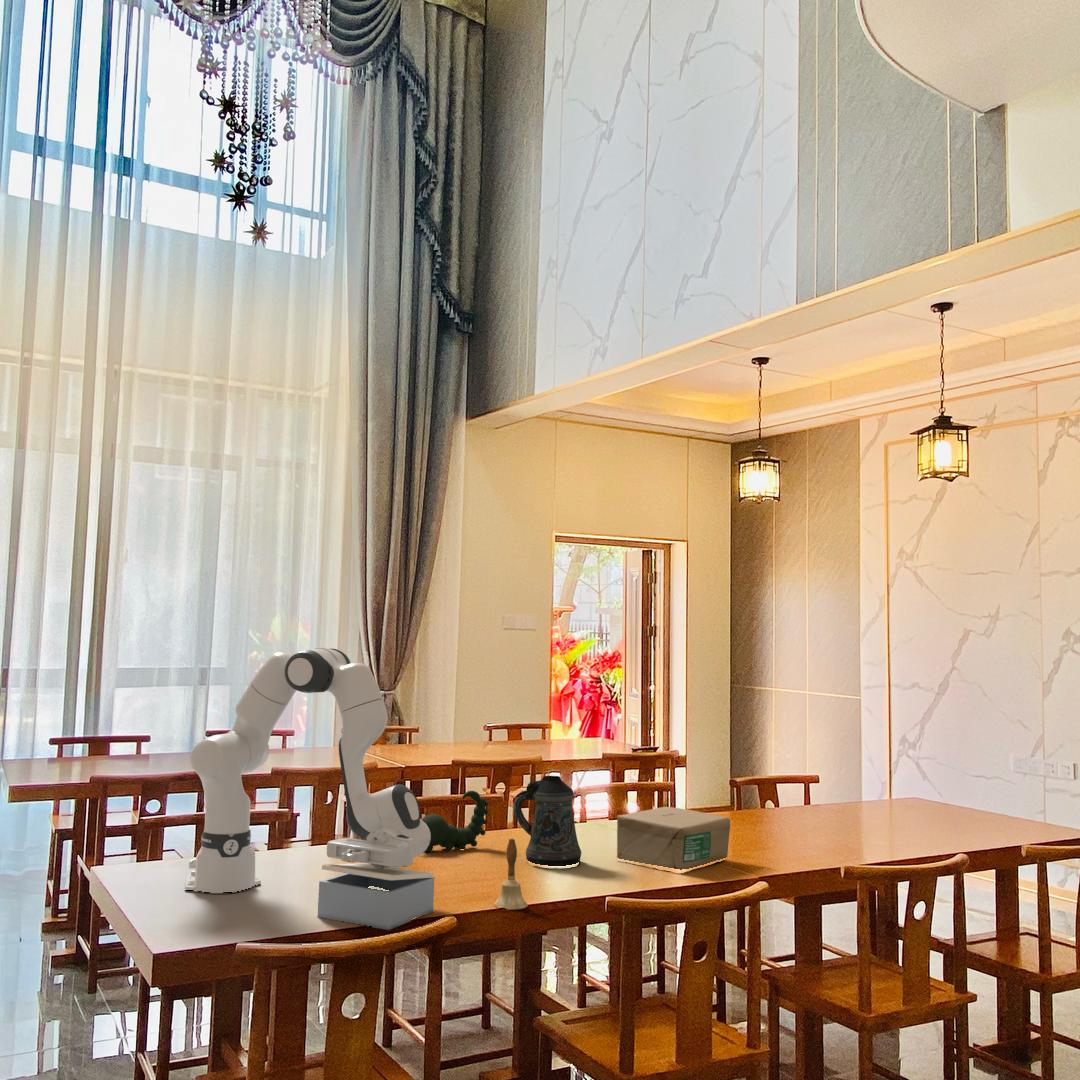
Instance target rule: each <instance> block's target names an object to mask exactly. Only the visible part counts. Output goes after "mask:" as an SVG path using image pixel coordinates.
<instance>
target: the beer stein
mask: <svg viewBox="0 0 1080 1080" xmlns="http://www.w3.org/2000/svg"><path fill="white" fill-rule="evenodd" d="M574 797H575V792H574V790H573V789H572V788H571V787H570V786H568V784H567V783H566V782H564V781H563V780H562V778H561V776H559V775H544V776H542V778H541V779H540V780H535V781H530V782H529V783H528V784H527V786H526V789H525V790H522V791H520V792H519V793H517V794H516V795H515V799H514V801H513V812H514V816H515V819H516V820H517V822H518V823H519V825H520V826H521V828H522V829H523V830H524V831H525V833H527V834H528V835H529V836H530V838H529V841H528V845H527V847H526V850H525V856H526V861H527V860H528V861H530V862H532V863H535V864H540V865H548V866H566V865H572V864H576V863H578V862H580V863H581V857H582V849H581V847H580V844H579V841H578V835H577V831H576V823H575V817H574V816H575V815H574V810H573V809H574V808H573V800H574ZM525 801H534V809H533V810H534V812H533V817H532V824H530V823H529V821H528V819H526V817H525V815H524V813H523V809H522V805H523V803H524V802H525Z"/></svg>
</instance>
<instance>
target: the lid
mask: <svg viewBox="0 0 1080 1080" xmlns="http://www.w3.org/2000/svg"><path fill="white" fill-rule="evenodd" d="M321 870H323V871H324V870H325V871H330V872H336V873H342V874H345V873H348V874H354V875H360V876H367V877H373V878H379V879H385V880H404V879H418V878H432V877H433V875H434V873H433V872H428V871H421V870H415V869H407V868H403V867H384V868H376V867H374V866H372V865H371V864H369V863H363V862H353V863H324V864H322V866H321Z"/></svg>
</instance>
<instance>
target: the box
mask: <svg viewBox="0 0 1080 1080" xmlns="http://www.w3.org/2000/svg"><path fill="white" fill-rule="evenodd" d="M369 886H374V887H379V888H383V889H385V890H389V891H383V890H377V889H371V888H368V887H369ZM434 894H435V877H433V876H432V878H418V879H404V880H385V879H379V878H373V877H367V876H360V875H354V874H348V873H342V874H339V875H336V876H332V877H329V878H325V879H323V880H319V882H318V898H317V899H318V900H317V901H318V902H317V918H321V917H322V918H323V919H326V918H327V919H329V920H332V921H337V920H338V922H342V921H344V922H343V923H348V922H349V923H348V924H353V923H355V924H354V925H358V924H361V925H360V926H364V925H368V926H367V927H369V926H372V927H371V928H376V929H379V930H381V929H382V930H385V931H390V930H393V929H395V928H398V927H400V926H402V925H405V924H407V923H410V922H412V921H411V919H413V918H415V917H419V916H422V915H425V916H427V915H429V913H430V914H432V913H433V912H434V901H435V900H434V898H435V897H434V896H435V895H434ZM431 912H432V913H431ZM426 914H427V915H426ZM422 917H423V916H422Z"/></svg>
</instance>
